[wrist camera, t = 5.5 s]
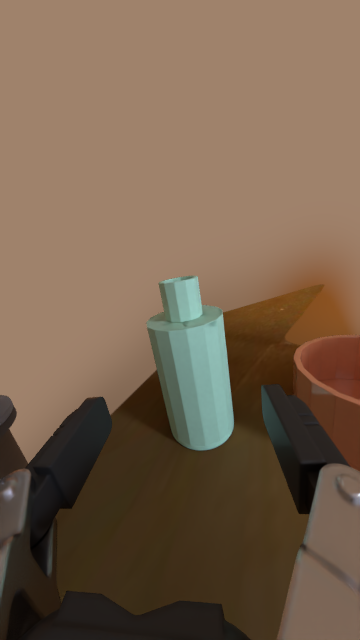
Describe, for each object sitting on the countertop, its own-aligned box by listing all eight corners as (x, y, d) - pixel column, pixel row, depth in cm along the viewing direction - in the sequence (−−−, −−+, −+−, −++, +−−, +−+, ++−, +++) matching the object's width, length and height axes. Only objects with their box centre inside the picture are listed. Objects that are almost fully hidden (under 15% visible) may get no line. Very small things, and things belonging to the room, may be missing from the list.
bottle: (198, 466, 15) (164, 289, 11) (159, 420, 20) (126, 287, 16) (247, 421, 18) (236, 270, 14) (203, 391, 23) (185, 273, 19)
